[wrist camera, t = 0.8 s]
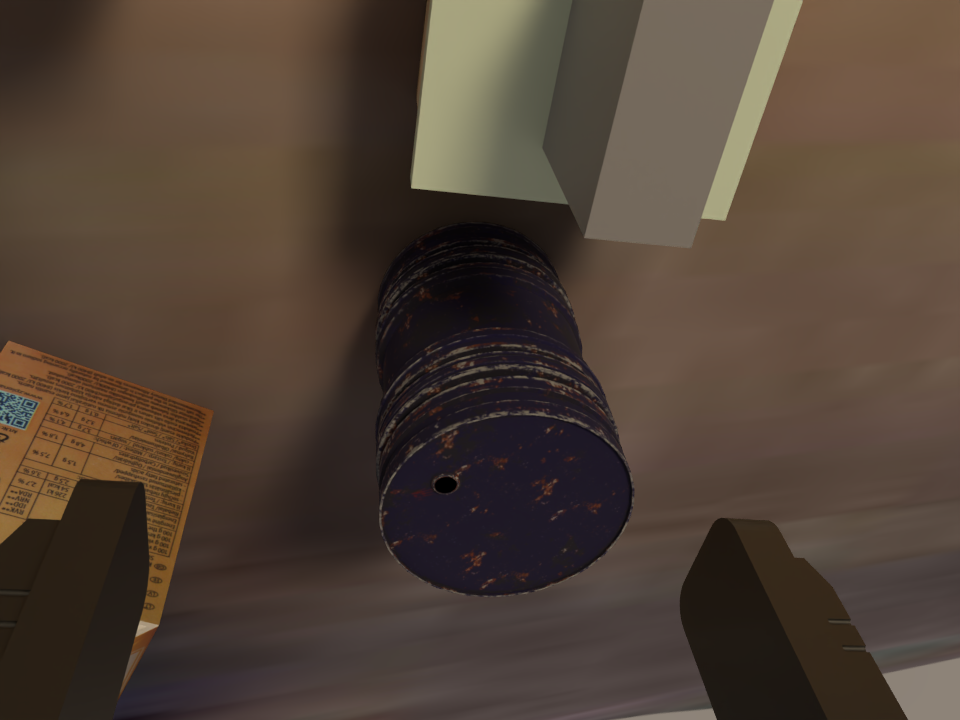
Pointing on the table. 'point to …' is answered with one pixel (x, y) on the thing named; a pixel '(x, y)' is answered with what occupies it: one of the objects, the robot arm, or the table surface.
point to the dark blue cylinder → (491, 419)
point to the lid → (599, 106)
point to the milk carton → (97, 455)
